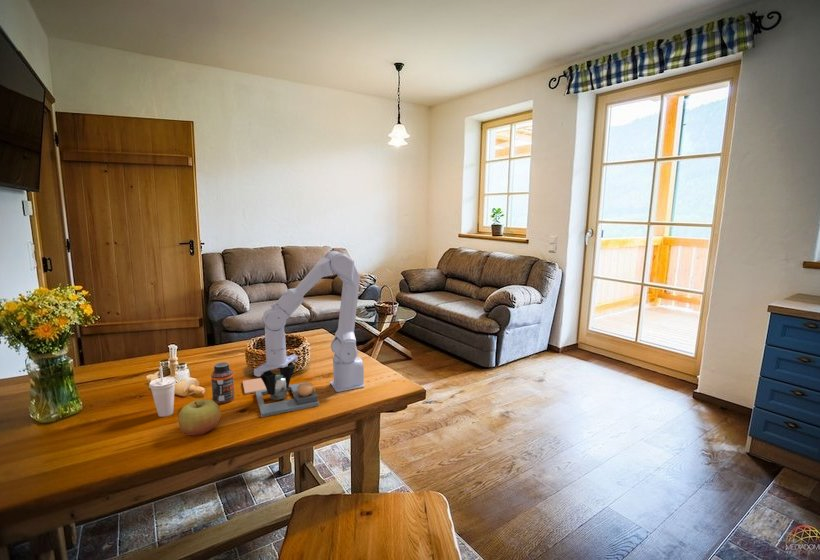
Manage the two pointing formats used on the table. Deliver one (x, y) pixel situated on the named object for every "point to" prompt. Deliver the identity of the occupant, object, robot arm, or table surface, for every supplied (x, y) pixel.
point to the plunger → (305, 389)
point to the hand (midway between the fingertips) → (278, 390)
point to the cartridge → (279, 387)
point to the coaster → (253, 385)
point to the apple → (199, 417)
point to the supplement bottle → (222, 383)
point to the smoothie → (163, 394)
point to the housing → (286, 402)
